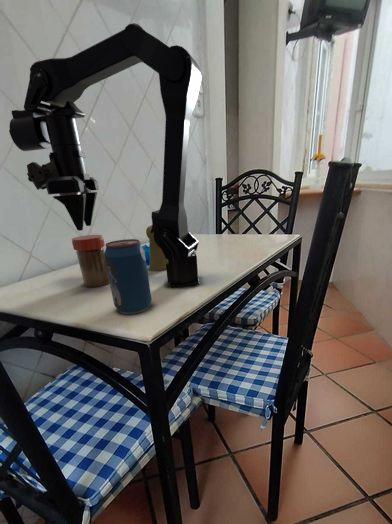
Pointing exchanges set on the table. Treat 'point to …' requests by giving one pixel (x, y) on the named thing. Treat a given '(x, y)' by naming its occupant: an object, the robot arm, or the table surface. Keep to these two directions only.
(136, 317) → the table surface
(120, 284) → the soda can
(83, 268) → the jar
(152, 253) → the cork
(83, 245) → the lid
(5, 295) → the table surface
